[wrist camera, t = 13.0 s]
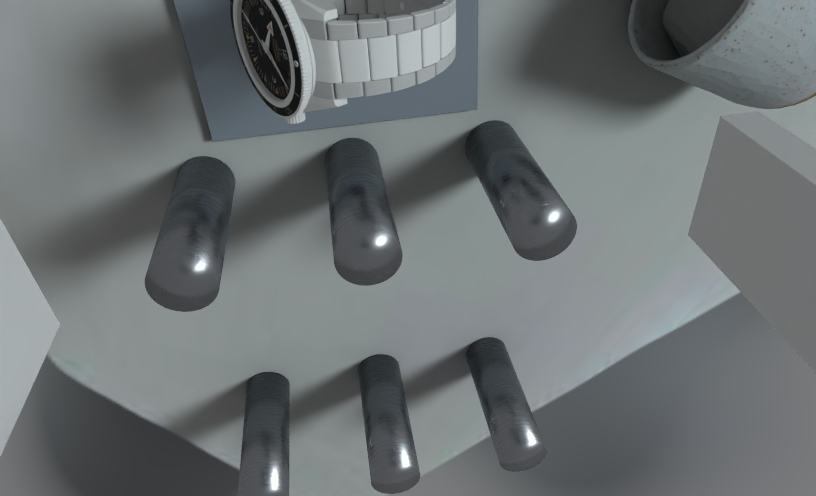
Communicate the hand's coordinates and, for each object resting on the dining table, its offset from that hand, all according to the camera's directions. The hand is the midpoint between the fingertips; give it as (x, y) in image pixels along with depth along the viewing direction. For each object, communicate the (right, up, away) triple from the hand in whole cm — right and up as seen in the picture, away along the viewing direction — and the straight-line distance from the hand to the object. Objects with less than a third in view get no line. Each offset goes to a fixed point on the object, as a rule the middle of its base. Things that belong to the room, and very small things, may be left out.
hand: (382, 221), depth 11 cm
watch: (-3, +12, +16) cm, 20 cm away
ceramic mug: (+16, +14, +19) cm, 29 cm away
